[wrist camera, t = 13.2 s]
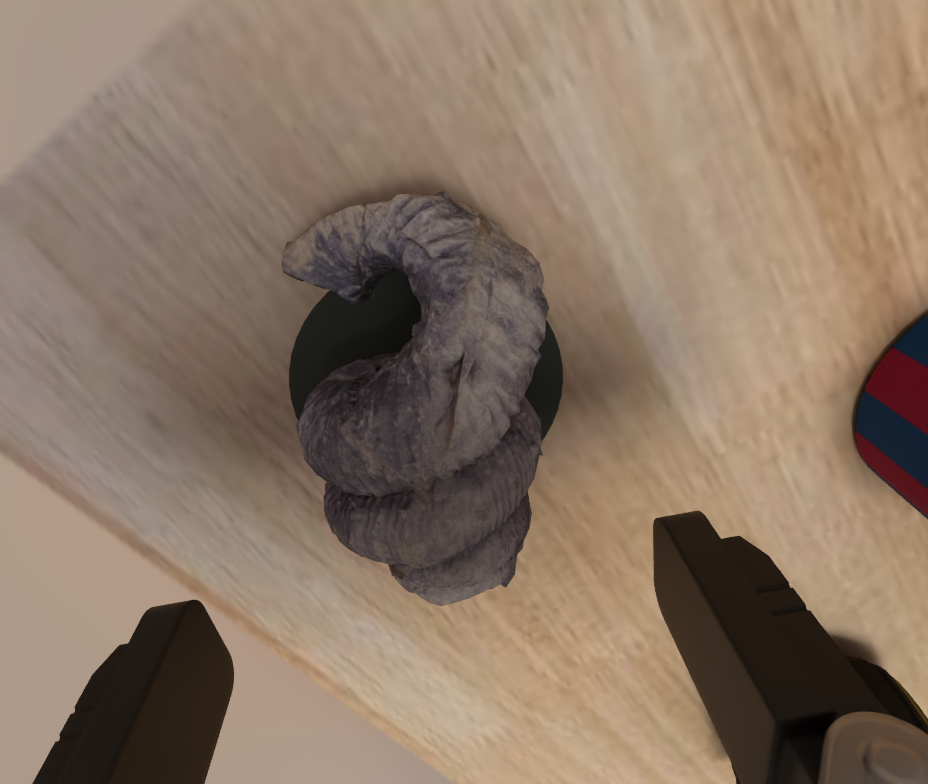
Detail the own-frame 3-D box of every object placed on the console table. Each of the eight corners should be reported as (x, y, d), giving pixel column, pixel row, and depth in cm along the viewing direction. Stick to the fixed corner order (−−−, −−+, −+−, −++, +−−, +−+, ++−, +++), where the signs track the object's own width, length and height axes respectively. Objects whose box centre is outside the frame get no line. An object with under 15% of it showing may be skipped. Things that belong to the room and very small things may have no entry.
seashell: (364, 170, 13) (449, 495, 18) (156, 253, 10) (332, 626, 15) (578, 153, 10) (609, 546, 15) (387, 263, 7) (509, 725, 12)
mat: (336, 516, 17) (336, 518, 17) (247, 289, 13) (247, 290, 13) (574, 470, 16) (574, 472, 16) (545, 227, 13) (545, 228, 13)
